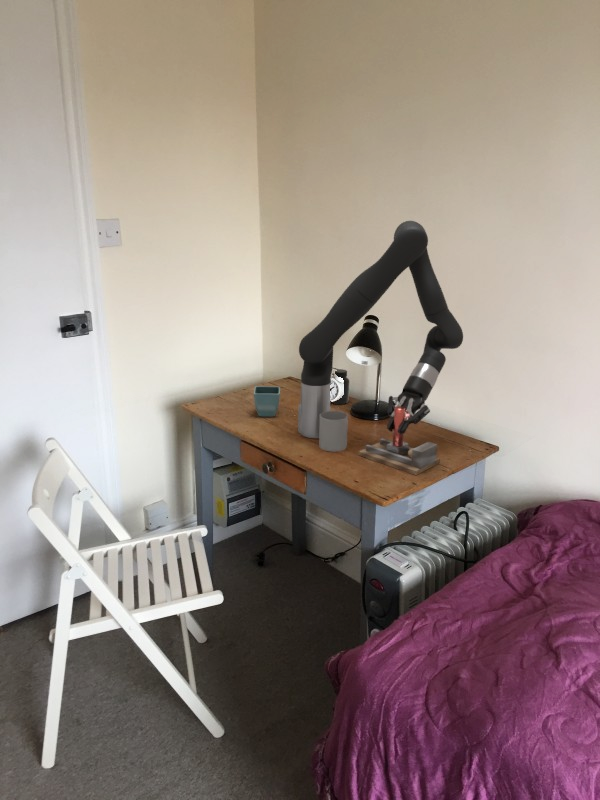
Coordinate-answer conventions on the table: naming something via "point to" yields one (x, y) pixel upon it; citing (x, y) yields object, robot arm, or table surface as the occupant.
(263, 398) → the flower pot
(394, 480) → the table surface
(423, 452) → the machine vise
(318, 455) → the table surface
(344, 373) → the supplement bottle
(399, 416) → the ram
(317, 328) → the robot arm
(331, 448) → the cup
